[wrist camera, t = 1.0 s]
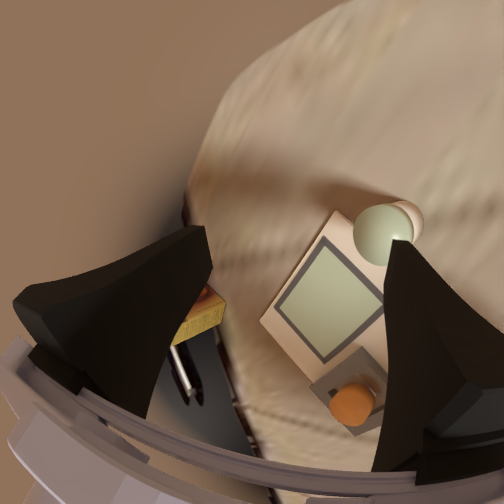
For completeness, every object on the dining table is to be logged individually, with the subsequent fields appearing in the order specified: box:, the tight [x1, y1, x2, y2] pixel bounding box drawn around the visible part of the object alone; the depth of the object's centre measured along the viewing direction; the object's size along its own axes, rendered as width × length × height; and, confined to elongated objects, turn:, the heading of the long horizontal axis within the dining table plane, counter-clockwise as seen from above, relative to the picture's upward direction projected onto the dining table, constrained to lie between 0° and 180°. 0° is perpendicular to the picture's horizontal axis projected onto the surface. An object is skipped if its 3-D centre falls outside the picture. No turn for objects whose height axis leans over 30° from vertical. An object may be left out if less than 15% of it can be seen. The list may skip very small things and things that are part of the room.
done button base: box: [309, 346, 388, 436], centre depth 23 cm, size 8×8×1 cm
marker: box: [353, 201, 424, 266], centre depth 16 cm, size 3×3×6 cm
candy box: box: [170, 283, 226, 347], centre depth 34 cm, size 9×4×15 cm, turn 70°
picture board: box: [259, 210, 388, 410], centre depth 23 cm, size 18×16×1 cm
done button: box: [329, 383, 376, 426], centre depth 22 cm, size 4×4×2 cm
